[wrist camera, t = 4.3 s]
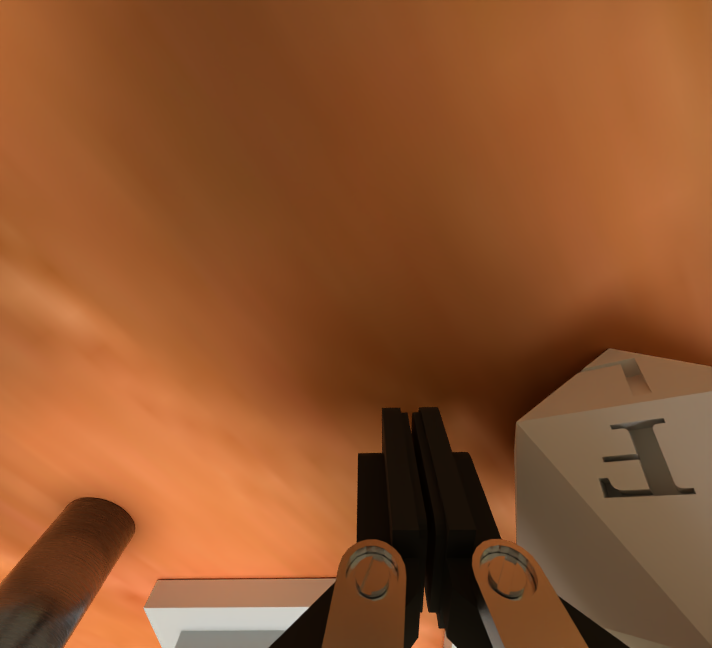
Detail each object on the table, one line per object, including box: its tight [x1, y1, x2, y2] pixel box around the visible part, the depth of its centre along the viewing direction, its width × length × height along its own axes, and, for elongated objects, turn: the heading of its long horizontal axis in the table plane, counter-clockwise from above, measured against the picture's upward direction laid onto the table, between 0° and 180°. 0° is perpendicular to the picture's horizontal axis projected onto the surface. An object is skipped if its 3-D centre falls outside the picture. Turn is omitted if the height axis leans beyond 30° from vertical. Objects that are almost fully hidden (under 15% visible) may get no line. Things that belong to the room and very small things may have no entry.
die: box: [514, 348, 712, 648], centre depth 10 cm, size 8×9×10 cm
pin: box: [0, 498, 135, 648], centre depth 13 cm, size 3×3×7 cm
